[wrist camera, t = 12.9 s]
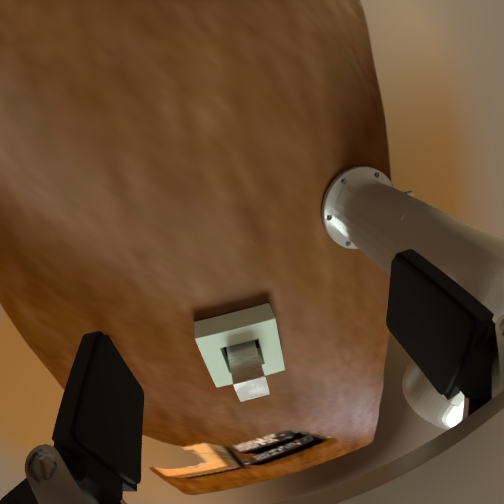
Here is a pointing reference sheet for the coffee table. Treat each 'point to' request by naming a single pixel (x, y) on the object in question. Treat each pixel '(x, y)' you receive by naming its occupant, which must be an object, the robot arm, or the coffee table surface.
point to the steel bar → (247, 371)
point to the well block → (239, 340)
